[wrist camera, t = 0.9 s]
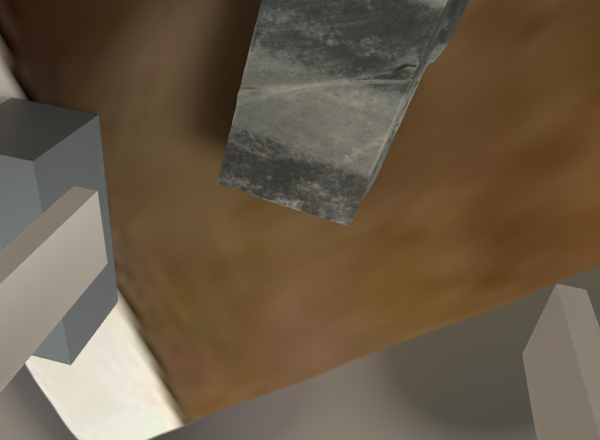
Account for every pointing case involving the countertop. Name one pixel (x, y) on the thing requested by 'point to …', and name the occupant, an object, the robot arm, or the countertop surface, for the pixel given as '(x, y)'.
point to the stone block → (329, 97)
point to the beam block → (46, 191)
